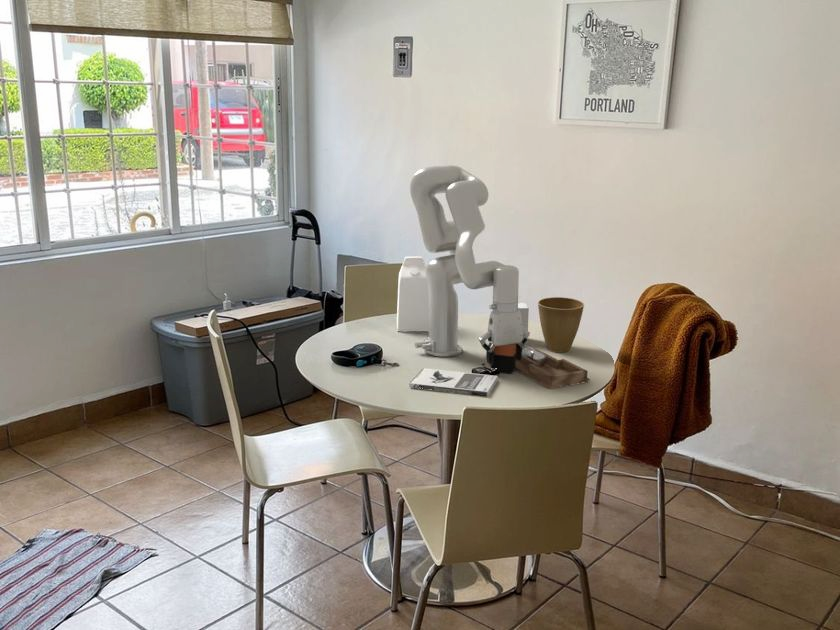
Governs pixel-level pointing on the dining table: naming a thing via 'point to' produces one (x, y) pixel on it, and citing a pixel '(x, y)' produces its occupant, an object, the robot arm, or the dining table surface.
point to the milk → (413, 296)
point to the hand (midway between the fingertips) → (504, 361)
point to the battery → (505, 358)
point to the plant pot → (560, 321)
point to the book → (454, 382)
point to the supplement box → (524, 315)
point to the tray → (552, 371)
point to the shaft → (534, 355)
